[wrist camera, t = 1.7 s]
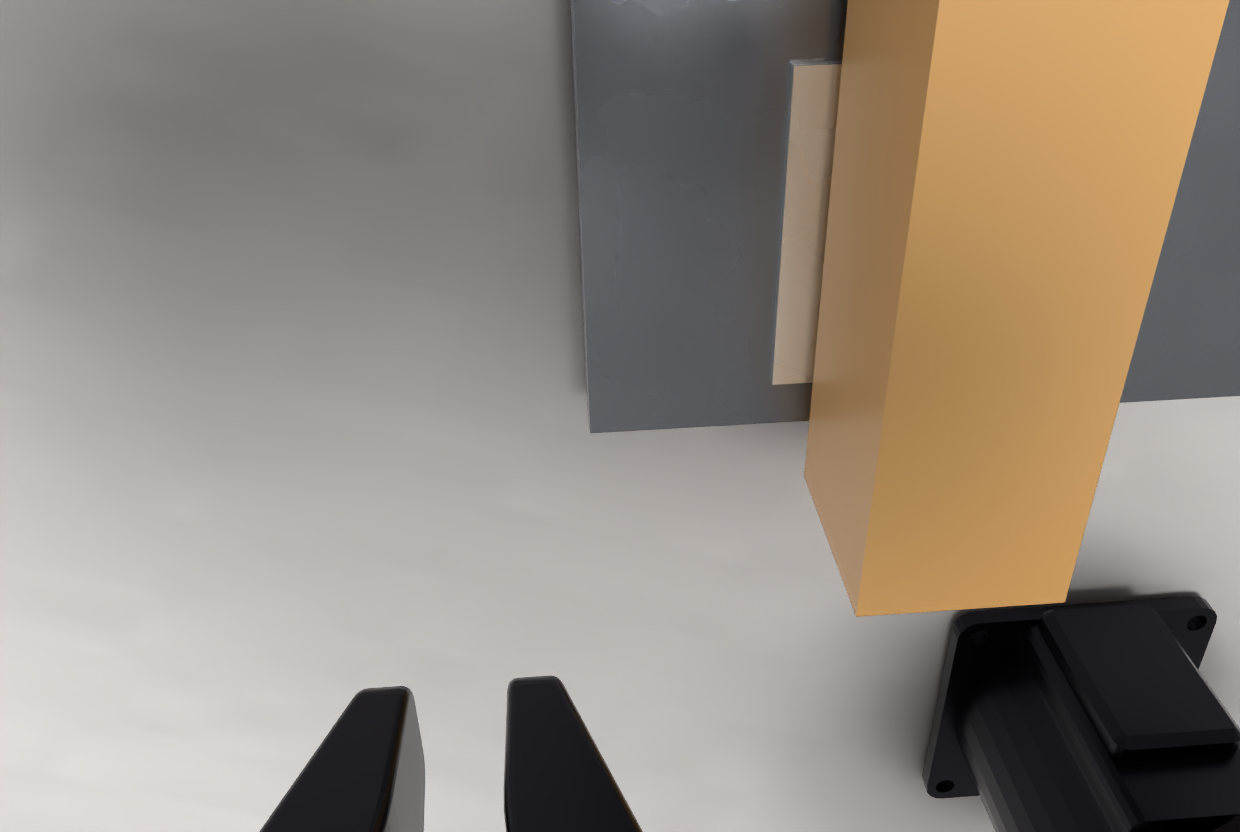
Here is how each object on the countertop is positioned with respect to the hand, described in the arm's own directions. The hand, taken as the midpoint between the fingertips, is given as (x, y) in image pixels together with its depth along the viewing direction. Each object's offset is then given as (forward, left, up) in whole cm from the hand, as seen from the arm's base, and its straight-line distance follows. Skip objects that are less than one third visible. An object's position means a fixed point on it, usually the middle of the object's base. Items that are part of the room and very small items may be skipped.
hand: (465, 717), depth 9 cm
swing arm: (+5, -7, -11) cm, 14 cm away
